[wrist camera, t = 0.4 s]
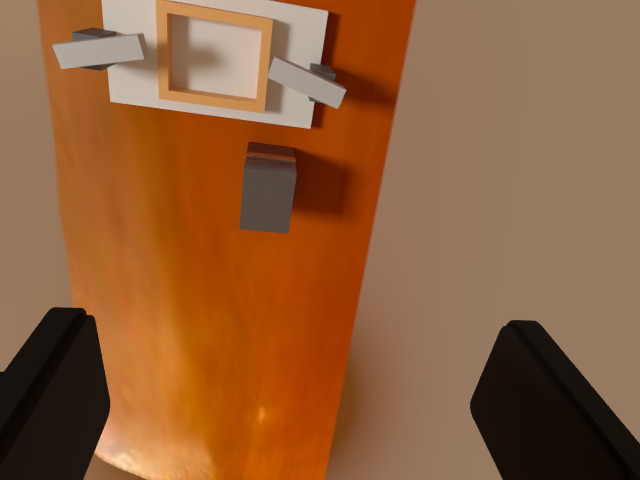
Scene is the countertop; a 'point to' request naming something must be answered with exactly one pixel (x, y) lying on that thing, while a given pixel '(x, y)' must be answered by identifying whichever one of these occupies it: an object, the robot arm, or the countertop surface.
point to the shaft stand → (211, 57)
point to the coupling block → (268, 188)
